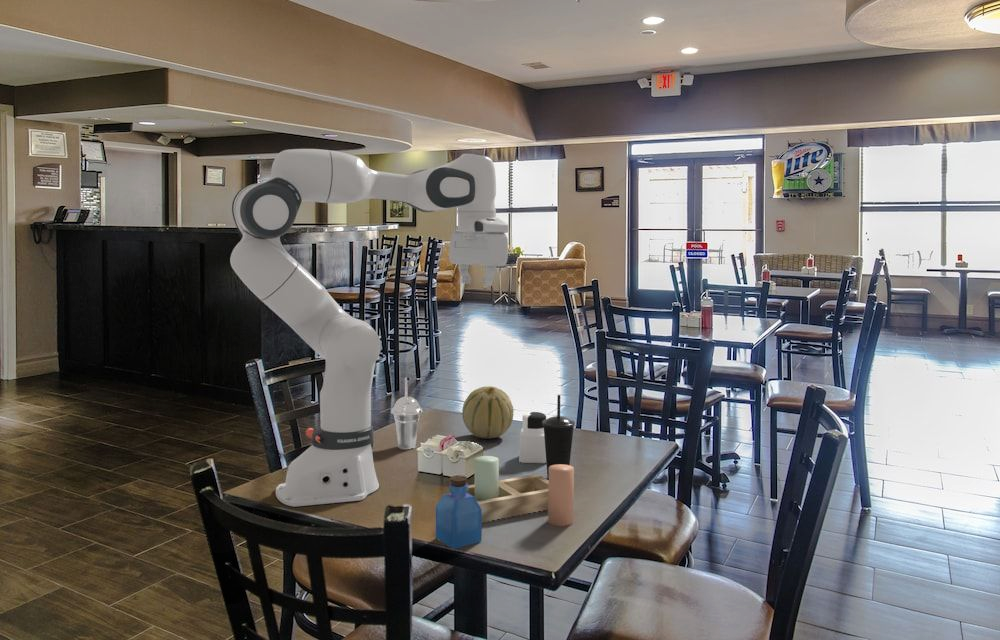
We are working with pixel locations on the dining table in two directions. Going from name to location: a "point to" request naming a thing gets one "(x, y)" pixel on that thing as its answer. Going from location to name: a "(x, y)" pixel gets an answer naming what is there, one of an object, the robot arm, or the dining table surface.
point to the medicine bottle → (532, 439)
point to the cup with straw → (406, 419)
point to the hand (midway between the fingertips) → (476, 284)
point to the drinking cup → (558, 439)
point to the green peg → (486, 478)
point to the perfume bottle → (458, 516)
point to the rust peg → (560, 495)
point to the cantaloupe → (487, 412)
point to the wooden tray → (515, 497)
